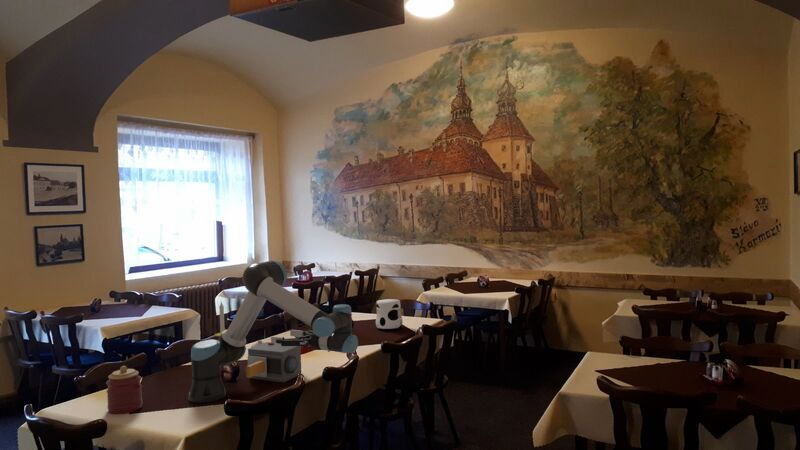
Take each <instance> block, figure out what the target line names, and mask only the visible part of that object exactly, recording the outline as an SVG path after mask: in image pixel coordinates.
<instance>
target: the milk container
mask: <svg viewBox="0 0 800 450" xmlns="http://www.w3.org/2000/svg"><path fill="white" fill-rule="evenodd" d="M401 305H402V304H401V300H400V299H396V298H389V299H388V298H387V299H379V300H376V317H375V326H376V328H377V329H379V330H384V331H392V330H398V329H401V328H402V326H403V317H402V312H401V311H402V310H401V309H402V307H401Z"/></svg>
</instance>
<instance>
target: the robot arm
mask: <svg viewBox="0 0 800 450" xmlns="http://www.w3.org/2000/svg"><path fill="white" fill-rule="evenodd" d="M287 279H288V272H287V270H286V266H285V265H284V264H283V263H282V262H280V261H278V260H268V261H263V262H256V263H252V264H250V265H249V266H247V267H246V268H245V270H244V271H243V273H242V283H243V286H244V287H245V289H246V290H247V291H248V292H247V294H246V295H245V297H244V299H243V301H242V302H241V304H240V306H239V308H238V310H237V311H236V313H235V315H234V317H233V319H232V321H231V323H230V324H229V326H228V328H227V329H225V330H224V331H223V332H222V333H221V335H220V336H218V339H206V340H200V341H199V342H196V343H194V344H193V345H192V346H191V348H190V363H191V385H190V389H189V392H188V401H189V402H191V403H198V404H199V403H202V404H203V403H209V402H210V403H211V402H216V401H218V400H219V401H220V400H221V399H223V398H224V397H225V396H226V395H227V393H226V392H227V390H226V387H225V385H224V382H223V380H222V375H221V368H223V367H225V366H229V365H232V364H233V363H236V362H238V361H239V360H241V359H242V358H243V357H244V356H245V353H246V351H247V347H246V344H247V339H246V337H247V335H248V333H249V332H250V330H251V328H252V326H253V324H254V323H255V321H256V319H257V318H258V316H259V314H260V312H261V310H262V308H263V307H264V305H265V303H266V302H267V301H269V302H270V303H271V304H273V305H275V306H277V307H278V308H279V309H281V310H283V311H285V312H286V313H288V314H289V315H291V316H293V317H294V318H296V319H297V320H299V321H301V322H302V323H304V324H305V325H307V326H309V327H311V328H312V330H311V329H308V330H304V331H303V330H298V329H290V330H289V331H290V332H289V333H290V334H289V336H290V337H289V338H288V337H287V338H285V337H284V336H282V337H281V336H274V335H273V336H270V342H271V343H275V344H281V346H300V347H305V346H310V347H311V348H312V350H319V351H321V350H322V351H327V352H328V353H330V352H336V353H342V354H353V353H355V352H357V349H358V347H359V340H358V339H359V338H358V336H357V335H355V334H353V332H352V331H353V327H352V325H353V323H352V321H353V319H352V318H353V317H352V316H353V314H352V307H351V305H349V304H345V303H343V304H342V303H341V304H335V305H333V307H332V312H331V313H329V314H328V313H327V312H324V311H323V310H321V309H319V308H318V307H316V306H315V305H313V304H311V303H310V302H308V301H306V300H305V299H303V297H302V298H301V297H300V296H298V295H296V294H295V293H293V292H292V291H290V290H288V289H286V288H285V287H283V285H284V284H285V283H286V282H287ZM231 363H232V364H231ZM228 364H229V365H228Z"/></svg>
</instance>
